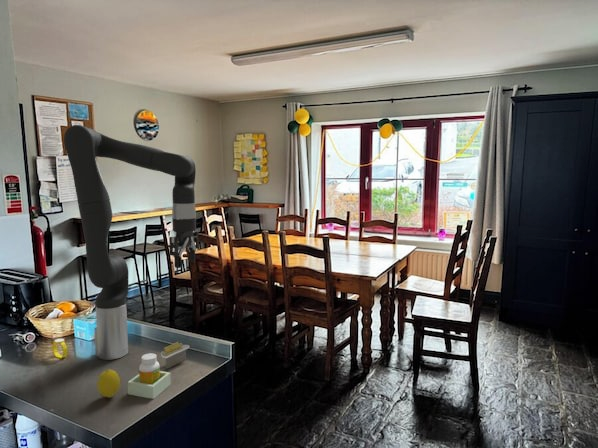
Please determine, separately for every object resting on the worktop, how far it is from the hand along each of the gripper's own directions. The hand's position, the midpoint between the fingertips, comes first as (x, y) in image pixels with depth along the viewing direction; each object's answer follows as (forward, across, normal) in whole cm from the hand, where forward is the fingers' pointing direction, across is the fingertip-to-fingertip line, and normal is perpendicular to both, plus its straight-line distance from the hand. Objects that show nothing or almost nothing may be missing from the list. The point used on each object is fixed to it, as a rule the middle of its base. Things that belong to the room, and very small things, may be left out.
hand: (185, 264), depth 138 cm
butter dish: (+31, +10, +1) cm, 32 cm away
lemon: (+30, +32, -4) cm, 45 cm away
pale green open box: (+30, +26, +4) cm, 40 cm away
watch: (+30, +17, -37) cm, 51 cm away
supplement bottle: (+30, +25, +4) cm, 40 cm away
